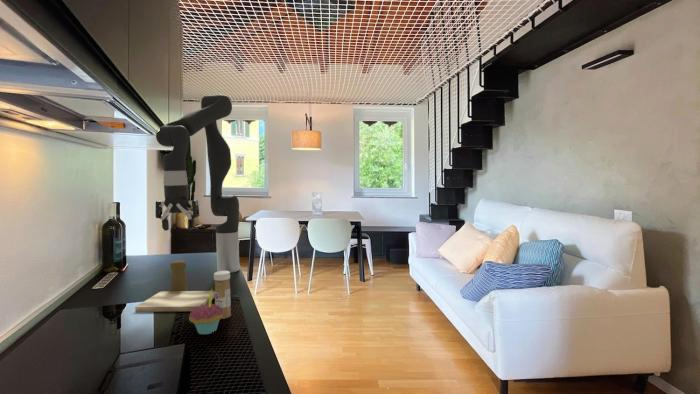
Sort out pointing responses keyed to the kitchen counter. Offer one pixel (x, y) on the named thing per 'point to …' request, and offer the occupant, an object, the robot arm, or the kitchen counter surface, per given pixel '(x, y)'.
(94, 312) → the kitchen counter surface
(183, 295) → the birch board
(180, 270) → the cork
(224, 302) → the sprinkles bottle
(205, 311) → the cupcake
